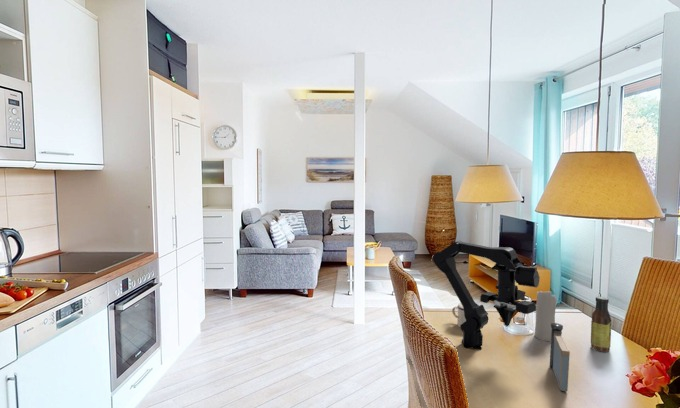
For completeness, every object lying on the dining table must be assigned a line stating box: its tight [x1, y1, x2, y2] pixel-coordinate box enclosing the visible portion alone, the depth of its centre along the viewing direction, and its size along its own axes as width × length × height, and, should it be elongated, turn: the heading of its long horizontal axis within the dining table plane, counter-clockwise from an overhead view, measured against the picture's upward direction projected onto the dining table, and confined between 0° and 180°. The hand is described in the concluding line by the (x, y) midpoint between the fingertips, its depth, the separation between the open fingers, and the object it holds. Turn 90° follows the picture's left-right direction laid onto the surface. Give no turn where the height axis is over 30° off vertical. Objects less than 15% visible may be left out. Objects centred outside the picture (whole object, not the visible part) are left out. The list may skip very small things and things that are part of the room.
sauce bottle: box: [590, 296, 612, 353], centre depth 141 cm, size 6×6×20 cm
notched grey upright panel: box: [534, 290, 558, 342], centre depth 153 cm, size 7×14×20 cm, turn 124°
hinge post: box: [549, 322, 564, 370], centre depth 126 cm, size 4×4×15 cm
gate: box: [552, 333, 571, 392], centre depth 118 cm, size 14×2×12 cm, turn 158°
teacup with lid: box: [451, 302, 466, 329], centre depth 162 cm, size 12×9×12 cm
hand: (507, 325), depth 133 cm, fingers closed
